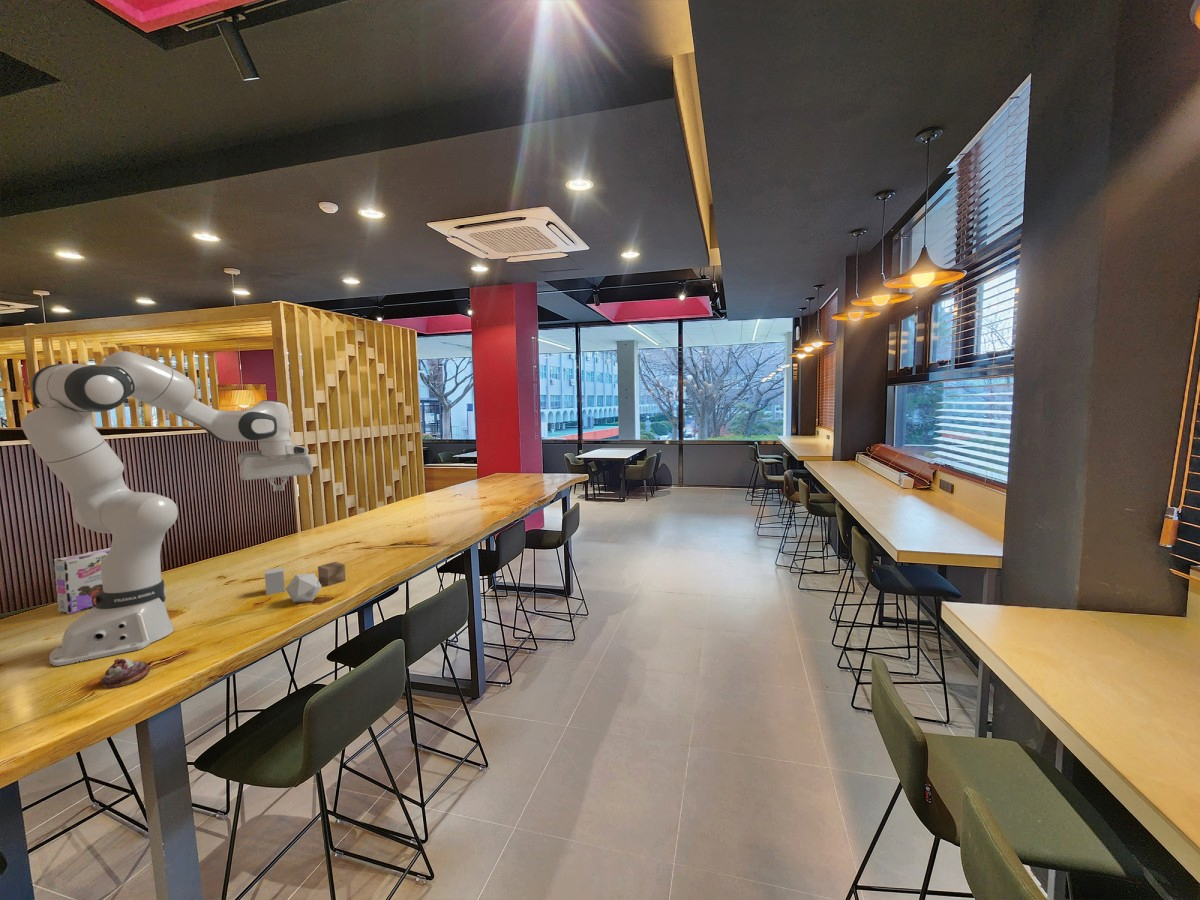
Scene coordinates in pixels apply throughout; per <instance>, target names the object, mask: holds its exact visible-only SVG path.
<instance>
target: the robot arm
mask: <svg viewBox="0 0 1200 900" xmlns="http://www.w3.org/2000/svg"><path fill="white" fill-rule="evenodd" d="M30 388H31V392H32V404H33V406H34V408H35V409H33V410H31V411H30V412H28V413H27V414H25V416H24V417H23V418H22V419H21V423H20V427H21V429H22V431H23V433H24V435H25V437H26V439H27V440H28V442H29V443H30V446H31V447H32V448H33V449H34V451H35V452H36V454H37V455H38V456H39V457H40V458H41V460H42V461H43V462H44V463H45V464H46V466H47V467H48V468H49V469H50V471H51V472H52V473H53V474H54V475H55V476H56V477H57V478H58V480H59V481H60V483H62V484H63V486H64V487H65V489H66V490H67V493H68V494H69V495H70V498H71V500H72V501H73V504H74V509H73V518H74V520H75V522H76V523H77V524H78V525H79V526H80V527H82V528H84V529H87V530H89V531H93V532H96V533H100V534H111V535H112V536H111V537H112V540H111V544H110V547H109V548H110V550H109V552H108V554H107V555H106V556H105V557H104V558H103V559H102V561H101V574H102V585H103V590H102V591H100V590H95V591H93V593H91V596H90V597H91V599H92V605H93V608H90V609H88V611H87V612H86V613H84V614H83V615H81V616H80V617H79V618H78V619H76V620H75V621H73V622H72V623H71V624H69V625H68V626H67V627H66V629H65V631H64V634H63V635H62V639H61V640H62V641H61V644H59V645H58V646H56V647H55V648H54V649H52V651H51V652H50V654H49V658H48V662H50V663H49V664H50V665H51V664H52V666H55V667H57V666H58V667H60V666H64V665H70V664H75V662H76V663H79V661H80V662H84V660H85V661H88V660H89V659H90V660H93V659H100V658H104V657H109V656H113V655H119V654H124V653H129V652H133V651H134V652H135V651H138V650H142V649H143V648H146V647H147V646H149V645H151V643H154V642H156V641H158V640H162V639H163V638H166V637H167V636H169V635H170V634H171V633H173V632H174V630H175V628H174V625H173V623H172V622H171V619H170V617H169V614H168V611H167V610H168V609H167V606H166V602H165V601H166V597H167V593H166V592H167V591H166V584H165V580H164V579H163V578H162V566H161V563H162V562H161V552H162V551H161V550H162V545H163V542H164V538H165V535H166V534H167V532H168V530H169V529H170V528H172V527H173V525H174V524H175V523H176V521H177V519H178V515H179V510H178V506H177V504H176V503H175V502H174V501H173V499H171V498H169V497H167V496H165V495H164V496H163V495H161V494H158V493H155V492H148V491H147V492H146V491H141V492H140V491H134V490H131V489H130V488H129V487H128V486H127V485H126V483H125V480H124V478H123V473H124V470H125V466H124V463H123V462H122V460H121V459H120V458H119V457H118V455H117V453H116V452H115V451H114V449H112V447H111V446H110V444H108V442H107V441H106V440H105V438H104V437H103V436H102V434H101V433H100V432H99V431H98V430H97V429H96V427H95V424H94V423H93V418H92V415H93V412H94V413H101V412H107V411H111V410H114V409H117V408H118V407H120V406H121V405H122V404H124V402H125V401H126V400H128V398H129V397H132V398H133V399H136V400H138V401H141V402H143V403H144V404H146V405H149V406H153V407H155V408H158V409H161V410H164V411H167V412H170V413H172V414H174V415H176V416H179V417H180V418H182V419H184V420H187V421H189V422H190V423H193V424H195V425H197V426H199V427H201V428H202V429H203V430H205V431H206V433H208V434H209V435H210V436H211V437H212V438H213V439H215V440H217V441H219V442H221V443H232V442H234V443H235V442H256V441H259V450H258V449H257V450H250V451H249V450H245V451H243V452H240V453H239V454H238V455H237V463H238V465H239V466H240V467H239V478H240V479H242V481H252V480H253V481H254V480H263V479H267V480H268V482H269V484H271V486H272V491H273V492H280V491H285V485H286V483H287V481H289V480H288V477H297V476H299V477H300V476H309V475H312V473H313V472H314V467H313V461H312V458H311V456H310V455H309V454H308V452H309V449H308V448H307V447H306V446H303V445H299V444H293V443H292V438H291V434H290V430H291V417H290V412H289V408H288V406H287V405H286V403H283V402H282V401H277V400H269V399H268V400H267V399H265V400H264V399H263V400H260V401H259V402H257V404H255V405H254V406H252V407H249V408H247V409H244V410H218V409H214V408H212V407H211V406H209V405H207V404H205V403H203V402H201V401H199V400H197V399H195V398H194V397H195V395H196V385H195V383H194V382H193V380H192V379H191V378H189V377H188V376H186V375H185V374H183V373H182V372H180V371H179V370H176V369H174V368H172V367H170V366H167V365H166V364H163V363H161V362H159V361H157V360H154V359H152V358H149V357H147V356H145V355H144V356H143V355H142V354H138V353H135V352H131V351H128V350H124V351H123V350H121V351H120V350H119V351H117V352H113V353H111V354H110V355H108V356H107V357H105V359H104V360H103V361H102V363H101V364H100V365H88V364H82V363H64V364H63V363H57V364H51V365H48V366H44V367H42V368H41V369H39V370H37V371H36V372H35V373H34V374H33V376H32V378H31V382H30ZM276 478H281V480H282V482H281V483H280V484H279V485H278V484H277V485H276V484H275V481H276ZM90 660H89V661H90Z"/></svg>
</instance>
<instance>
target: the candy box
mask: <svg viewBox="0 0 1200 900" xmlns="http://www.w3.org/2000/svg"><path fill="white" fill-rule="evenodd" d="M109 550H110V547H108V548H104V549H98V550H94V551H88V552H85V553H79V554H75V555H69V556H66V557H60V558H59V557H58V558H54V559H53V564H54V565H53V566H54V578H55V588H56V590H55V591H56V600H57V601H56V602H57V612H58V613H62V614H67V615H72V614H75V613H79V612H82V611H86V610H91V609H92V608H93V605H92V599H91V597H90V596H91V593H93V591H95V590H100V591H102V590H103V585H102V574H101V561H102V559H103V558H104V557H105V556H106V555H107V554H108V552H109Z"/></svg>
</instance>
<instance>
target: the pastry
mask: <svg viewBox="0 0 1200 900" xmlns="http://www.w3.org/2000/svg"><path fill="white" fill-rule="evenodd" d="M113 661H114V662H113V664H112V665H111V666H109V667H108V668H107V670H106V671H105V672H104V673H105V674H104V675H105V676H104V677H103V678H102V680H101V682H100V685H101V686H102V687H103V688H104V689H118V688H121V687H126V686H129V685H132V684H135V683H137V682H140V681H142V680H143V679H144V678H145V677H146V676H148V674H149V672H150V665H149V664H148V663H146V662H145V661H140V660H139V661H132V660H131V659H124V658H116V659H114V660H113Z"/></svg>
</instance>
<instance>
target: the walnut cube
mask: <svg viewBox="0 0 1200 900" xmlns="http://www.w3.org/2000/svg"><path fill="white" fill-rule="evenodd" d="M317 573H318V581H319V582H320V584H321V585H324V586H327V587H330V586H333V585H337V584H340V583H343V582H346V579H347V578H346V564H345V563H341V562H338V561H333V562H329V563H325V564H321V565H318V566H317Z"/></svg>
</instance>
